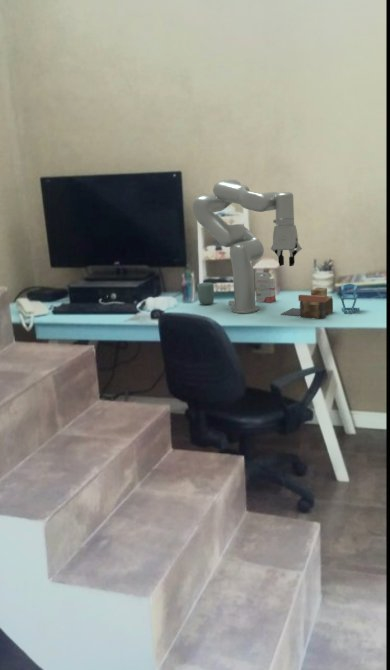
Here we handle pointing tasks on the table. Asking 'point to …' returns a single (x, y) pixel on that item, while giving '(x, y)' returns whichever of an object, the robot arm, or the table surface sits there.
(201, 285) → the cup
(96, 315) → the table surface
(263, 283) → the ink cartridge box
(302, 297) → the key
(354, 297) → the chair
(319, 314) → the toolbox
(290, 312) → the mat
